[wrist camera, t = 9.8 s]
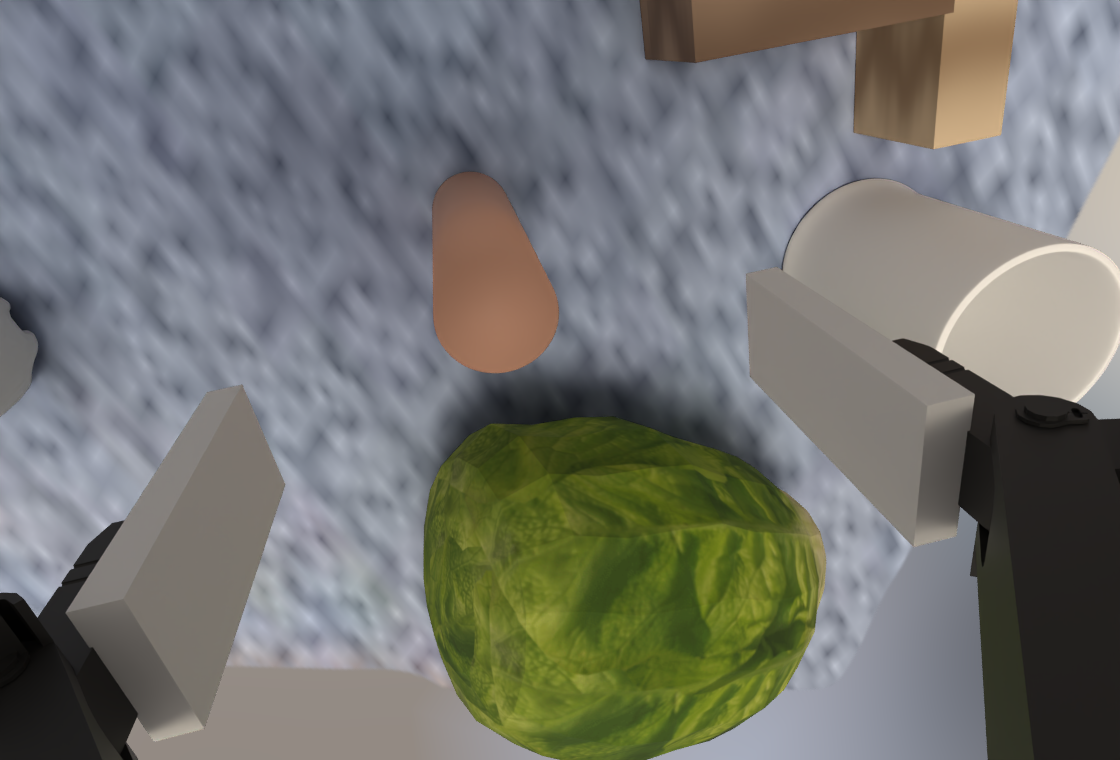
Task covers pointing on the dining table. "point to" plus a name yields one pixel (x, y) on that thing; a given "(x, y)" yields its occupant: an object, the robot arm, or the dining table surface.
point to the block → (764, 23)
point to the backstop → (936, 76)
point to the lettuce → (615, 586)
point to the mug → (964, 286)
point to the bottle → (14, 359)
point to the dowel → (487, 279)
